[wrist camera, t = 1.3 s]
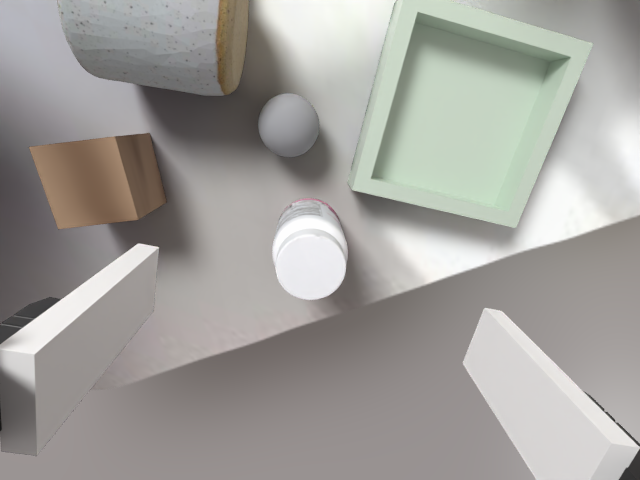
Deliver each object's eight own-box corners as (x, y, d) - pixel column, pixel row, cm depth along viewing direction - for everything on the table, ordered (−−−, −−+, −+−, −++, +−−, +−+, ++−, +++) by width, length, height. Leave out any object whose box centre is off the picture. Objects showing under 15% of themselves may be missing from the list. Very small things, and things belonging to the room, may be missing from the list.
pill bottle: (345, 247, 29) (361, 296, 21) (287, 261, 29) (281, 316, 21) (331, 189, 28) (342, 219, 20) (270, 205, 28) (256, 240, 20)
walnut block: (101, 209, 27) (58, 229, 23) (79, 141, 26) (28, 146, 21) (167, 201, 27) (138, 219, 23) (149, 133, 26) (114, 136, 21)
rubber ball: (257, 147, 26) (248, 152, 23) (267, 88, 25) (260, 83, 21) (311, 160, 27) (312, 166, 23) (324, 103, 26) (327, 100, 22)
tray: (347, 182, 27) (352, 190, 25) (394, 2, 24) (406, -13, 21) (495, 217, 29) (515, 228, 26) (560, 51, 25) (593, 43, 22)
